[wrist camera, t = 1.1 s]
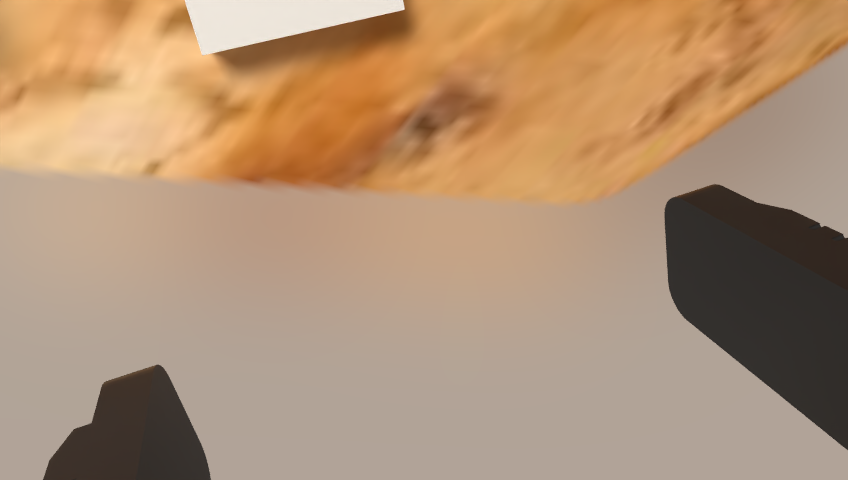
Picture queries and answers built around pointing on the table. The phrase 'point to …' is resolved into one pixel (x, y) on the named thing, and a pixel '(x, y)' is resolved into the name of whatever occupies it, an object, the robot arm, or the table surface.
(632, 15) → the table surface
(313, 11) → the power strip
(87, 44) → the table surface
